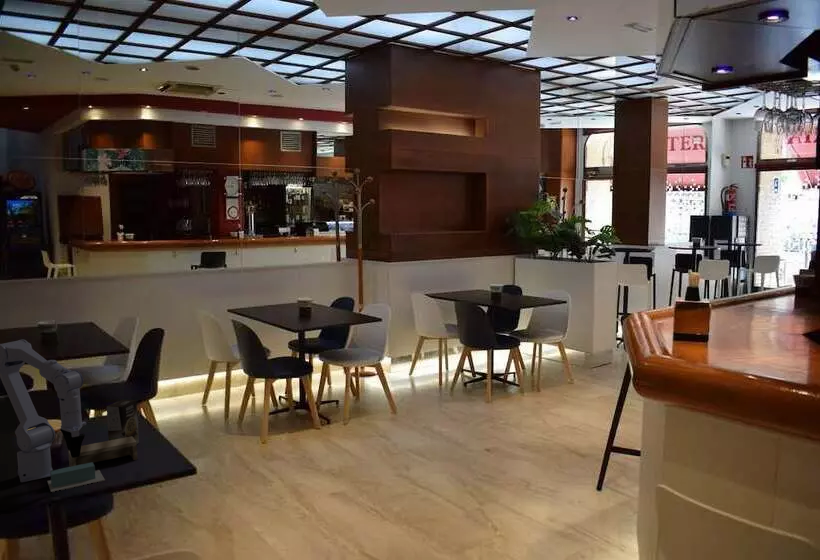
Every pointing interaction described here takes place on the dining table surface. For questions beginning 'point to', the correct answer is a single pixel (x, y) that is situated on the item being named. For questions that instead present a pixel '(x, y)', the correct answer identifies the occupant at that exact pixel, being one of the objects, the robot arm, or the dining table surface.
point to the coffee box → (122, 420)
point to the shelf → (105, 451)
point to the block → (72, 474)
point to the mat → (98, 479)
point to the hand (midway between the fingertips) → (73, 453)
